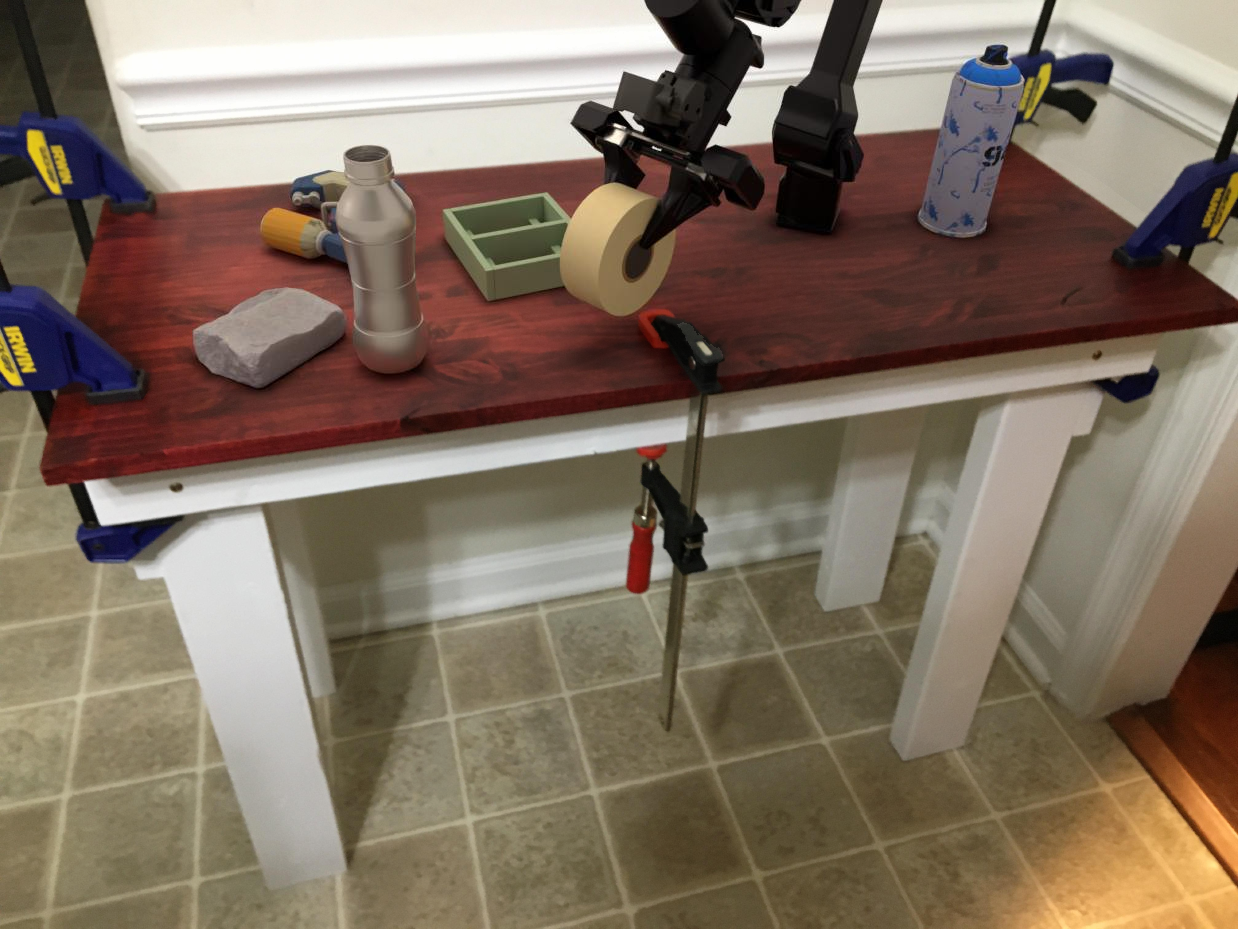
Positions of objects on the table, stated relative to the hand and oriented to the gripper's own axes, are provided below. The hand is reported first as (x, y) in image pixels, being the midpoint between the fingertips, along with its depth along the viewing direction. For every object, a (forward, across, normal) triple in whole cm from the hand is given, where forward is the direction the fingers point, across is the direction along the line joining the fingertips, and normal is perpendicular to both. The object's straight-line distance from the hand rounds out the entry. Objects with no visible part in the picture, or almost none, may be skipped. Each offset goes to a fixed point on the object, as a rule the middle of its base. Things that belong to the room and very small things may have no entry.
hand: (621, 238), depth 91 cm
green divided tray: (+4, -18, +11) cm, 21 cm away
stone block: (+24, -23, -9) cm, 34 cm away
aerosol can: (-25, +13, +40) cm, 49 cm away
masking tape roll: (+1, 0, 0) cm, 1 cm away
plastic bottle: (+20, -12, -5) cm, 24 cm away
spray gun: (+11, -36, +4) cm, 38 cm away
